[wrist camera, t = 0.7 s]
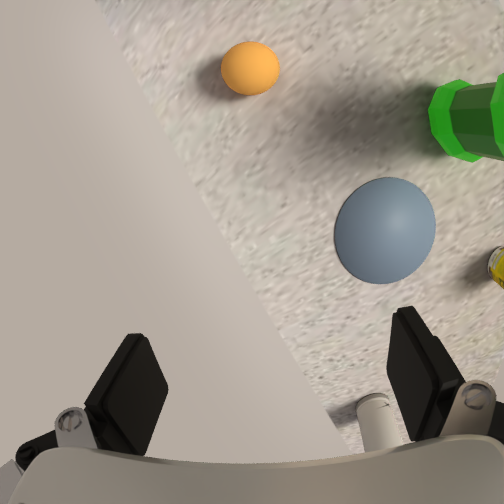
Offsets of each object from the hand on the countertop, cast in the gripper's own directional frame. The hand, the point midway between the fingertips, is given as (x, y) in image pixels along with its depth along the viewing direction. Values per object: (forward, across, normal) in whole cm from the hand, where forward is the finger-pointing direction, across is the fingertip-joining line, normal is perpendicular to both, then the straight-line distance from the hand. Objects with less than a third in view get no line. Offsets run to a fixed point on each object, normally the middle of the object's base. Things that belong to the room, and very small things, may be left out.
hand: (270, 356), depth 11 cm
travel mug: (+27, -13, +37) cm, 48 cm away
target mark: (+27, -14, +6) cm, 31 cm away
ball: (+24, 0, -15) cm, 28 cm away
